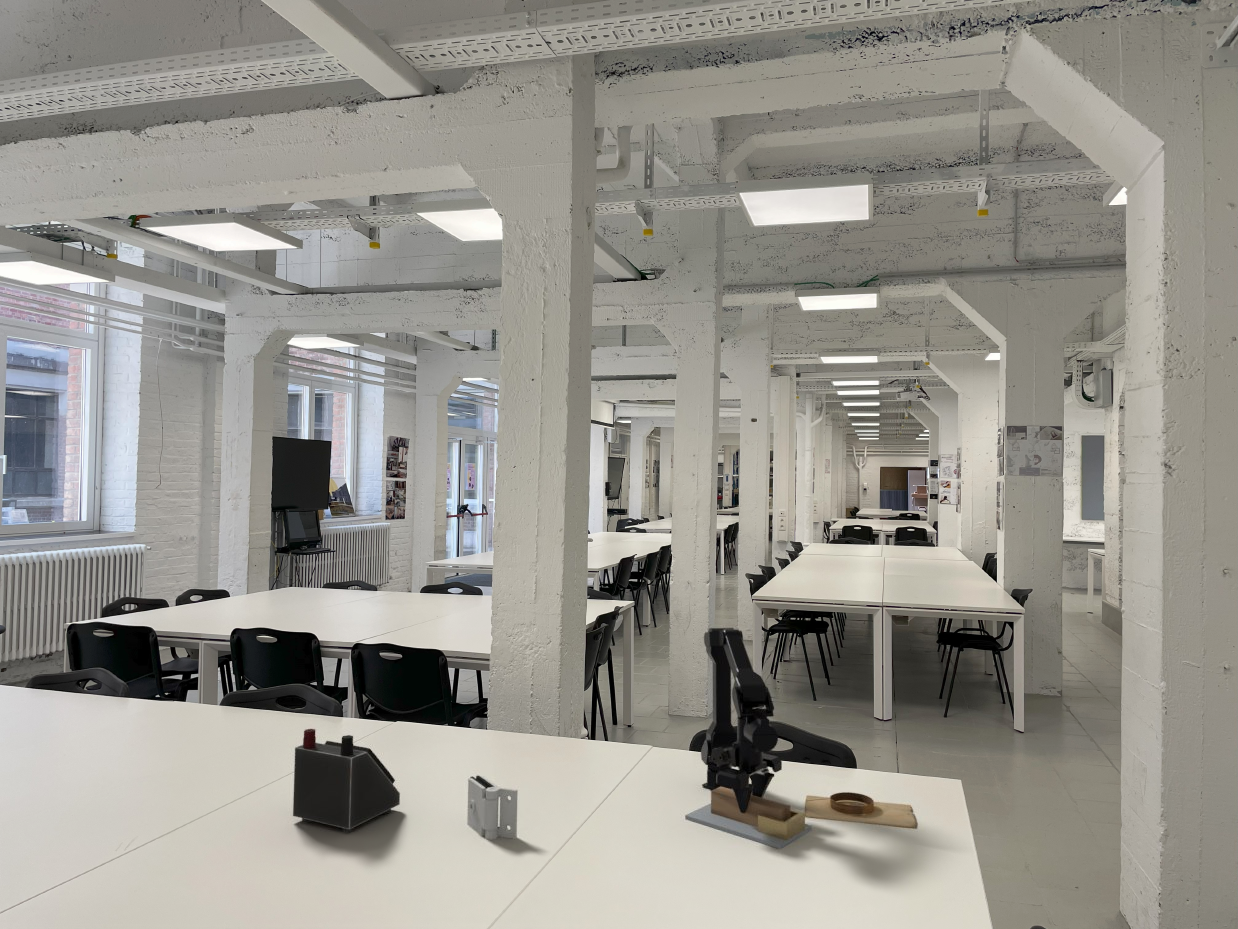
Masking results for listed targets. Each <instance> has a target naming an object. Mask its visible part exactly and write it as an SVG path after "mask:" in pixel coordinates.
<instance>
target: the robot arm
mask: <svg viewBox="0 0 1238 929" xmlns="http://www.w3.org/2000/svg"><path fill="white" fill-rule="evenodd" d="M703 641H704V642H703V644H704V646H705V650H706V652H705V653H706V654H707V655H708V657H709V659H710V661H711V662H712V722H711V723H710V725H709V726H708V728H707V730H706V733H705V734H706V735H705V740H704V742H703V744H702V747H701V750H700V757H701V761H702V762H703V764H704V765H705V766H707V767H706V768H707V770H706V782H704V783H703V784H701V787H703V788H706V789H709V790H714V789H716V788H718V787H725V788H729V789H732V790H733V791H734V793H735V796H736V799H737V802H738V806H739V809H740V812H741V813H746V810H747V807H748V804H749V800H750V797H751V795H754V796H757V797H761V798H764V795H765V793H766V791H767V790H768V787H769V785H770V784H771V781H772V779H773V778H774V777H775V774H774V773H777V772H780V771H782V766H783V763H782V762H783V761H782V760H781V759H780V757H779V756H776V755H772V754H768V753H767V752H770V751H772V750H774V749H775V747H776V746H777V744H778V741H779V735H778V733H777V731H776V728H774V727H773V726H772V725H770V719H769V717H771V718H773V717H774V710H775V706H774V702H773V700H772V696H771V692H770V690H769V687H768V686H767V685H766V683H765V681H764V680H763V677H762V676H761V675H760V674H759V673H757V672H755V671H754V669H753V665H752V663H751V660H750V657H749V655H748V654H749V653H748V652H747V649H746V646H745V643H744V636H743V631H742V630H740V629H738V628H735V629H734V627H709V628H708V631H705V632H704V634H703ZM732 677H733V680H734V682H733V687H732ZM732 702H733V706H734V709H735V712H736V715H737V719H736V720H737V722H736V723H737V730H736V729H735V728H734V726H733V724H732ZM764 707H765V708H764ZM736 768H737V769H736ZM769 768H771V769H772V771H773V772H774V773H773V772H770V769H769ZM750 782H751V783H750Z"/></svg>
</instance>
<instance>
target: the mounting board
mask: <svg viewBox="0 0 1238 929" xmlns="http://www.w3.org/2000/svg"><path fill="white" fill-rule="evenodd" d="M684 818H685V820H687V821H691V822H693V823H697V824H700V825H703V826H707V827H709V828H713V829H715V830H716V829H717V830H719V831H722V832H726V833H728V834H732V835H734V836H738V837H740V838H741V837H742V838H744V839H746V840H747V839H748V840H751V841H754V842H756V843H760V844H763V845H767V846H769V847H772V848H775V849H779V850H781V849H782V848H783V847H785V846H787V845H789V844H790V843H791V842H794V841H795V840H797V839H798V838H800V837H802V836H803V835H805V834H806V833H808V832H810V831H811V830H812V825H810V824H808V823H805V830H803V831H802V832H800V833H799V834H797V835H795V836H794V837H792V838H790V839H789V840H787V841H786V840H783V839H780V838H777V837H773V836H770V835H767V834H764V833H760V832H758V827H755V826H752V825H748V824H745V823H742V822H738V821H735V820H732V819H729V818H725V817H722V816H719V815H715V814H712V813H711V802H710V803H708V804H706V805H704V806H702V807H700V808H697V809H695V810H693V811H691V812H689V813H687V814H685V816H684Z"/></svg>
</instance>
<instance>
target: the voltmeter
mask: <svg viewBox="0 0 1238 929" xmlns="http://www.w3.org/2000/svg"><path fill="white" fill-rule="evenodd" d="M316 738H317V736H316V729H315V728H307V729H304V730H303V739H302V742H303V743H302V744H301V745H298V746H295V747H294V767H293V768H294V769H293V771H294V772H293V773H294V774H293V798H292V799H293V801H292V802H293V803H292V817H295V818H301V820H302V823H307V824H308V823H311V822H317V823H321V824H325V825H329V826H334V827H337V828H342V831H343V832H344V833H351V832H353V831H354V828H355V827H357V826H359V825H361V824H363V823H365V822H367V821H369V820H371V819H373V818H375V817H377V816H379V815H382V814H384V815H386V814H390V813H391V810H392V809H394V808H395V807H397V806H399V805H400V804H401V798H400V797H401V793H400V791H399V790H398V788H396V786H395V785H394V783H395V781H396V779H395V778H394V776H393V775H392V774H391V772H390V771H389V770H388V768H387V767H386V766H385V765H384V764H383V762H382V761H381V760H380V759H379V758H378V756H377V755H376V754H375V753H374V751H372V749H371V748H369V747H364V746H357V745H354V735H350V734H349V735H343V736H342V737H341V742H336V741H330V740H326V741H325V743H319V742H317V740H316Z"/></svg>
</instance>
